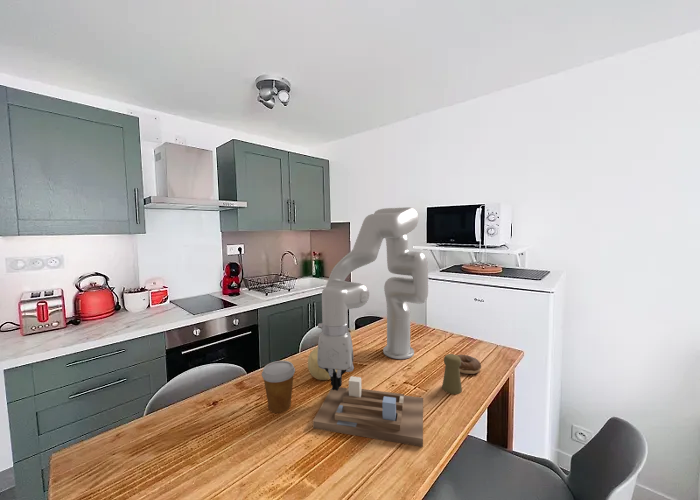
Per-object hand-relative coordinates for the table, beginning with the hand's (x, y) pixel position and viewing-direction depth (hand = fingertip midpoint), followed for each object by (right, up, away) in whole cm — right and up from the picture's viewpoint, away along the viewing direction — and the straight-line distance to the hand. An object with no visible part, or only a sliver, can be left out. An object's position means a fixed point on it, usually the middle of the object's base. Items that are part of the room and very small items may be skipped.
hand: (336, 387), depth 88 cm
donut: (+46, -3, +19) cm, 50 cm away
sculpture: (-5, -3, +16) cm, 17 cm away
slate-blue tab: (+14, -3, -12) cm, 19 cm away
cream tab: (+6, -2, -1) cm, 6 cm away
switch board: (+10, -5, -6) cm, 13 cm away
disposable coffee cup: (-17, -5, -2) cm, 17 cm away
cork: (+37, -4, +6) cm, 38 cm away
